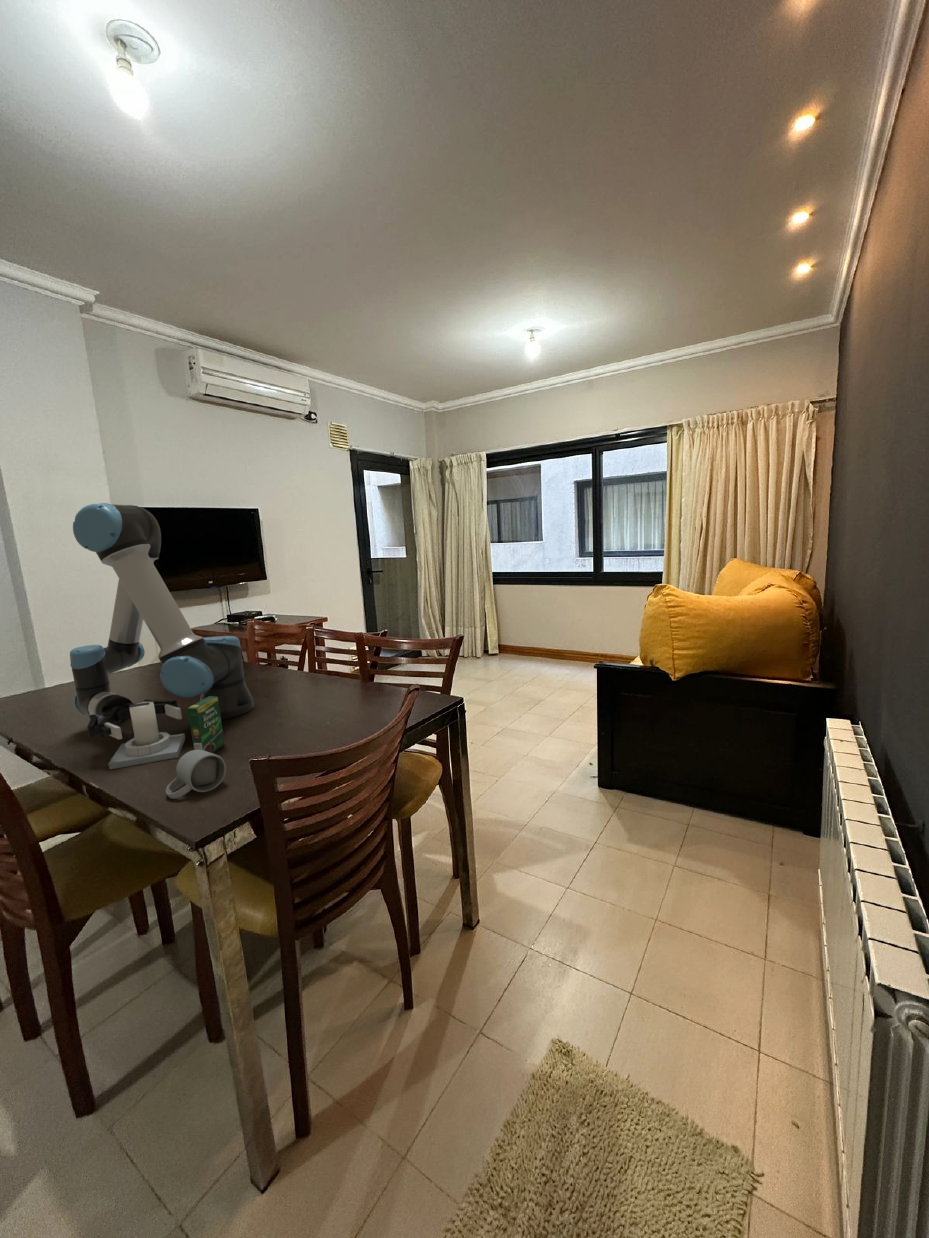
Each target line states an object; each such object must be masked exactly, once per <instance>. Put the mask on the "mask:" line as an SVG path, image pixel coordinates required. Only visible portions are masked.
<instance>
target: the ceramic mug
mask: <svg viewBox="0 0 929 1238" xmlns="http://www.w3.org/2000/svg"><path fill="white" fill-rule="evenodd" d="M175 771H176V775H177V776H176V777H175V778H173V780H172V781H171V782H169V783H168V785H167V786H166V789H165V794H166V795H167V796H168V798H170V799H171V800H176V799H179V798H181V797H183V796H185V795H187V794H188V793H189V792H191V790H193V791H196V792H197V793H206V792H210V791H212V790H215V789H216V788H217V787H218V786H220V785H221V783H222V782H223V780H224V779H225V776H226V772H227V765H226V762H225V760H224V759H223V757H221V755H218V754H215V753H214V752H213V753H210V752H207V751H204V750H194V749H193V750H190V751H187V752H186V753H184V754H183V755H182V756H181V757H180V758H179V760H178V761H177V763H176V767H175ZM181 783H183V784H185V785H184V786H182V787H181V788H179V789H178V790H176V791H174V792H173V790H174V789H175V788H176V787H177V786H178V785H179V784H181Z"/></svg>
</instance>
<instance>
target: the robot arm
mask: <svg viewBox="0 0 929 1238" xmlns="http://www.w3.org/2000/svg"><path fill="white" fill-rule="evenodd" d="M72 532H73V536H74V538H75V541H76V542H77V543H78V544H79V545H80V546H81V547H82V548H83V549H86V550H88V551H90V552H94V553H96V555H97V558H98V559H99V560H100V561H101V563H102V564H103V565H105V566H108V567H111V568H112V569H113V570H114V572H115V574H116V576H117V578H118V582H117V586H116V587H117V589H116V595H115V601H114V607H113V612H112V618H111V625H110V631H109V638H108V643H107V646H106V647H103V645H100V644H89V645H88V644H87V645H83V646H78V647H74V648H72V649H71V650H70V652H69V661H70V667H71V671H72V676H73V681H74V682H73V683H74V687H75V693H74V695H73V698H72V704H73V707H74V709H75V710H77V711H78V712H79V713H80V714H82V715H84V716H88V717H89V722H88V724H87V726H86V727H87V733H88V737H89V738H93V737H95V736H96V735H97V734H98V736H99V739H100V738H101V739H103V738H105V737H106V736H110V737H112V738H114V739H117V740H122V739H123V735H122V728H121V727H120V726H118V725H121V724H123V723H126V722H127V721H128V720H130V719H131V714H130V708H129V707H130V705H133V704H134V702H132V700H131V699H129V698H128V697H127V696H123V695H120V694H118V693H114V692H112V689H111V684H110V683H111V681H110V677H109V676H110V675H112V674H114V673H116V672H119V671H121V670H124V669H126V668H130V667H132V666H134V665H135V664H137V663H139V662H141V661H142V660H143V659H144V657H145V652H146V651H145V648H144V646H143V644H142V643H141V642H140V639H141V635H142V634H141V633H142V627H143V622H144V624H145V625H146V627H147V629H148V630H149V631H150V634H151V635H152V637H153V638H154V640H155V642H156V644H157V645H158V646H159V648H160V650H159V654H158V657H157V658H158V660H159V661H160V664H161V665H162V666H161V668H160V673H159V677H160V678H159V679H160V681H161V684H162V686H163V687H164V688H165V689H166V690H167V691H168V692H169V693H170V694H172V695H175V696H178V697H182V698H194V697H197V696H199V695H200V699H199V702H200V701H202V700H203V699H205V698H207V697H208V696H215V697H218V703H219V710H220V716H221V720H223V719H224V720H225V719H230V718H234V717H237V716H241V715H244V714H246V713H248V712H250V711H251V710H253V709H254V707H255V704H254V698H253V696H252V695H251V692H250V690H249V688H248V686H247V684H246V682H245V681H246V680H245V673H244V671H245V670H244V665H243V655H242V646H241V642H240V639H239V637H237V636H234V635H221V636H220V635H219V636H206V637H203V636H200V635H196V634H195V633H194V632H193V630H192V629H191V626H190V625H189V623H188V621H187V619H186V617H185V616H184V615H183V613H182V611H181V610H180V608H179V606H178V604H177V602H176V600H175V599H174V597H173V595H172V594H171V592H170V590H169V589H168V587H167V585H166V583H165V582H164V579H163V578H162V576H161V574H160V572H159V571H158V569H157V568H156V566H155V563H154V562H155V561H156V560H158V559H159V558H160V554H161V546H162V532H161V528H160V524H159V522H158V520H157V519H156V517H155V516H154V514H152V513H151V512H150V511H148V510H147V509H146V508H143V507H141V506H138V505H132V504H114V503H113V504H112V503H107V502H101V503H92V504H91V503H90V504H87V505H85V506H84V507H82V508H80V510H79V511H77V513H76V514H75V516H74V521H72ZM143 702H153V703H154V708H155V714H156V715H163V714H165V715H166V716H168V717H170V718H174V719H176V720H182V719H183V716H182V709H181V707H179V706H178V701H177V700H176V699H175V700H174V699H173V700H171V699H169V700H168V699H167V700H165V699H163V700H160V699H158V700H157V699H154V700H153V699H149V698H148V699H144V700H143ZM135 704H137V703H135Z"/></svg>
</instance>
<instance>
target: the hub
mask: <svg viewBox="0 0 929 1238" xmlns="http://www.w3.org/2000/svg"><path fill="white" fill-rule="evenodd" d="M158 732H159V738H160V741H158V742H155V743H152V744H149V745H144V746H136V743H135V737H133V738H131V739H130V740H127V741H126V742H125V743H121V744H120V746H119V747H118V749H117V750H116V752H115V753H114V755H113V756H112V758H110V761H109V762H108V768H109V769H110V770H115V769H120V768H126V767H132V766H137V765H143V764H149V763H155V762H160V761H167V760H172V759H176V758H177V759H178V758H179V756H180V754H181V751H182V749H183V745H184V743H185V740H186V735H185V733H184V732H183V733H177V734H172V735H171V734H170V733H168V732H166V731H163V732H162V731H158Z"/></svg>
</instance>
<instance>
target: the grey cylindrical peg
mask: <svg viewBox="0 0 929 1238" xmlns="http://www.w3.org/2000/svg"><path fill="white" fill-rule="evenodd" d="M129 708H130V714H131V724H132V730H133V738H135V743H136V746H144V745H149V744H152V743H155V742H158V741H160V738H159V732H160V731H159V729H158V728H159V727H158V720H157V714H155V708H154V703H153V702H144V701H143V702H142V701H141V702H138V703H137V704H136V703H133V705H130V707H129Z"/></svg>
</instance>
